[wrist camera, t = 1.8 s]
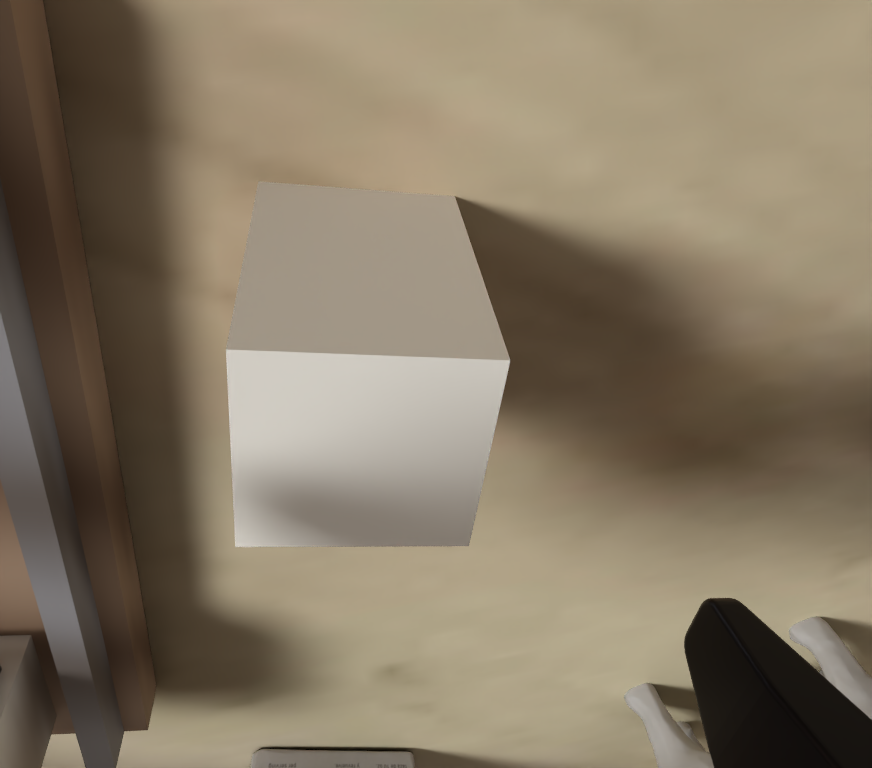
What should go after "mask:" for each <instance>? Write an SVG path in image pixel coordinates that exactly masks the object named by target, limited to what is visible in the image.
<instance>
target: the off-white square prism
mask: <svg viewBox="0 0 872 768" xmlns="http://www.w3.org/2000/svg"><path fill="white" fill-rule="evenodd" d="M226 359H227V380H228V401H229V422H230V443H231V464H232V485H233V506H234V527H235V547H355V546H469V543H470V538H471V534H472V530H473V525H474V521H475V516H476V512H477V507H478V503H479V498H480V494H481V489H482V485H483V480H484V476H485V472H486V467H487V463H488V458H489V454H490V449H491V445H492V440H493V436H494V431H495V427H496V422H497V418H498V414H499V409H500V405H501V400H502V396H503V391H504V387H505V382H506V378H507V373H508V369H509V365H510V358H509V355H508V352H507V349H506V346H505V343H504V340H503V337H502V334H501V331H500V328H499V325H498V322H497V319H496V316H495V313H494V311H493V308H492V305H491V302H490V299H489V296H488V293H487V290H486V287H485V284H484V281H483V278H482V275H481V272H480V269H479V266H478V263H477V260H476V257H475V254H474V251H473V249H472V246H471V243H470V240H469V237H468V234H467V231H466V228H465V225H464V222H463V219H462V216H461V213H460V210H459V207H458V204H457V201H456V198H455V196H446V195H433V194H420V193H406V192H393V191H379V190H366V189H353V188H339V187H326V186H313V185H299V184H286V183H273V182H259V181H258V186H257V191H256V197H255V202H254V207H253V212H252V217H251V223H250V228H249V233H248V238H247V243H246V249H245V254H244V259H243V264H242V269H241V274H240V280H239V285H238V290H237V295H236V300H235V306H234V311H233V316H232V321H231V326H230V331H229V337H228V342H227V347H226Z"/></svg>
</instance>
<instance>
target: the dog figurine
mask: <svg viewBox="0 0 872 768" xmlns="http://www.w3.org/2000/svg"><path fill="white" fill-rule="evenodd" d="M789 634H790V639H791V640H793V641H795V642H796V643H798V644H800V645H802V646H804V647H806V648H807V649H809V650H810V651H811V652H812V653H813V655H814V656H815V658H816V660H817V661H818V663H819V665H820V666H821V668H822V670H821V671H820V672H819V673H820V674H821V675H823V676H824V677H825V678H826V679H827V680H828V681H829V682H830V683H831V684H833V685H834V686H835V687H836V688H837V689H838V690H839V691H840V692H841V693H843V694H844V695H845V696H846V697H847V698H848V699H849V700H850V701H851V702H853V703H854V704H855V705H856V706H857V707H858V708H859V709H860V710H862V711H863V712H864V713H865V714H866V715H867V716H868V717H869V718H870V719H872V677H871V676H869V675H868V674H867V673H866V671H865V670H864V669H863V668H862V667H861V665H860V664H859V663H858V662H857V660H856V659H855V657H854V656H853V655H852V653H851V652H850V651H849V650H848V648H847V647H846V646H845V644H844V643H843V641H842V640H841V639H840V637H839V636H838V635H837V634H836V633H835V631H834V630H833V629H832V628H831V627H830V625H829V624H828V623H827V622H826V621H825V620H823V619H822V618H820V617H811V618H808V619H805V620H803V621H801V622H798V623H796V624H795V625H793V626H791V627H790V628H789ZM624 699H625V701H626V703H627V705H628V706H629V707H630V708H631V709H632V710H633V711H634V712H636V713H637V714H638V715H639V716H640V717H641V719H642V721H643V723H644V725H645V727H646V730H647V734H648V737H649V740H650V742H651V744H652V746H653V750H654V754H655V757H656V761H657V765H658V768H714V766H713V762H712V759H711V755H710V753H709V752H706V751H705V749H704V748H703V747H702V745H701V744H700V743H699V741H698V740H697V738H696V736H695V735H694V733H693V731H692V729H691V726H690V725H689V724H688V723H687V722H675V721H674V720H673V718H672V717H671V715H670V714H669V712H668V710H667V709H666V707H665V706H664V704H663V702H662V701H661V699H660V697H659V695H658V693H657V691H656V689H655V687H654V686H653V685H652V684H650V683H644V684H641V685H638V686H636V687H633V688H631V689H630V690H628V691H627V692H626V693H625V695H624Z"/></svg>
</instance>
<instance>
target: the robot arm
mask: <svg viewBox="0 0 872 768" xmlns="http://www.w3.org/2000/svg"><path fill="white" fill-rule="evenodd" d="M684 647H685V654H686V659H687V663H688V667H689V671H690V675H691V679H692V683H693V687H694V691H695V695H696V699H697V703H698V707H699V711H700V716H701V720H702V724H703V728H704V732H705V736H706V740H707V744H708V748H709V751H710V755H711V759H712V762H713V766H714V768H872V719H870V718H869V717H868V716H867V715H866V714H865V713H864V712H863V711H862V710H860V709H859V708H858V707H857V706H856V705H855V704H854V703H853V702H851V701H850V700H849V699H848V698H847V697H846V696H845V695H844V694H843V693H841V692H840V691H839V690H838V689H837V688H836V687H835V686H834V685H833V684H831V683H830V682H829V681H828V680H827V679H826V678H825V677H824V676H823V675H821V674H820V673H819V672H818V671H817V670H816V669H815V668H814V667H813V666H811V665H810V664H809V663H808V662H807V661H806V660H805V659H804V658H802V657H801V656H800V655H799V654H798V653H797V652H796V651H795V650H794V649H792V648H791V647H790V646H789V645H788V644H787V643H786V642H785V641H784V640H782V639H781V638H780V637H779V636H778V635H777V634H776V633H775V632H774V631H772V630H771V629H770V628H769V627H768V626H767V625H766V624H765V623H764V622H762V621H761V620H760V619H759V618H758V617H757V616H756V615H755V614H753V613H752V612H751V611H750V610H749V609H748V608H747V607H746V606H745V605H743V604H742V603H741V602H739V601H738V600H736V599H732V598H710V599H707V600H705V601H704V602H703V603H702V604H701V606H700V608H699V610H698V612H697V614H696V615H695V617H694V619H693V621H692V623H691V625H690V627H689V629H688V631H687V633H686V636H685V641H684Z"/></svg>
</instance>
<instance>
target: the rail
mask: <svg viewBox="0 0 872 768" xmlns="http://www.w3.org/2000/svg"><path fill="white" fill-rule="evenodd" d="M155 691H156V680H155V674H154V668H153V662H152V656H151V650H150V644H149V638H148V632H147V626H146V619H145V613H144V607H143V601H142V595H141V589H140V583H139V577H138V571H137V565H136V559H135V553H134V547H133V541H132V535H131V529H130V523H129V517H128V511H127V505H126V499H125V493H124V487H123V481H122V474H121V468H120V462H119V456H118V450H117V444H116V438H115V432H114V426H113V420H112V414H111V408H110V402H109V396H108V390H107V384H106V378H105V372H104V366H103V360H102V354H101V348H100V342H99V336H98V330H97V323H96V317H95V311H94V305H93V299H92V293H91V287H90V281H89V275H88V269H87V263H86V257H85V251H84V245H83V239H82V233H81V227H80V221H79V215H78V209H77V203H76V197H75V191H74V185H73V178H72V172H71V166H70V160H69V154H68V148H67V142H66V136H65V130H64V124H63V118H62V112H61V106H60V100H59V94H58V88H57V82H56V76H55V70H54V64H53V58H52V52H51V46H50V40H49V33H48V27H47V21H46V15H45V9H44V3H43V0H0V768H41V766H42V763H43V760H44V756H45V753H46V750H47V746H48V743H49V740H50V736H51V734H70V733H76V736H77V740H78V743H79V746H80V750H81V753H82V757H83V760H84V763H85V767H86V768H116V765H117V761H118V756H119V752H120V748H121V743H122V739H123V734H124V731H138V730H148V727H149V722H150V716H151V711H152V706H153V701H154V696H155Z"/></svg>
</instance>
